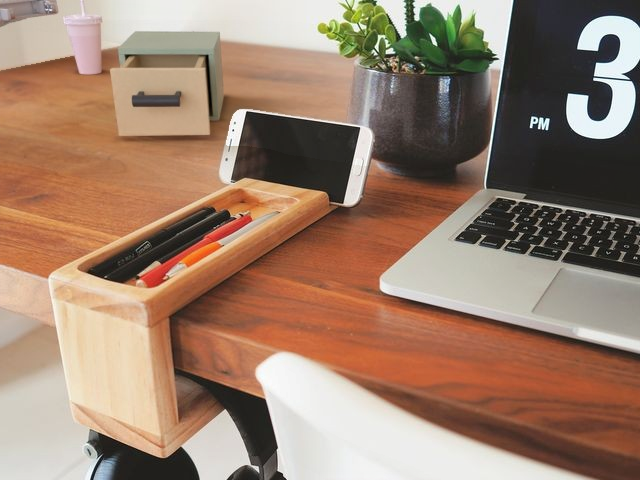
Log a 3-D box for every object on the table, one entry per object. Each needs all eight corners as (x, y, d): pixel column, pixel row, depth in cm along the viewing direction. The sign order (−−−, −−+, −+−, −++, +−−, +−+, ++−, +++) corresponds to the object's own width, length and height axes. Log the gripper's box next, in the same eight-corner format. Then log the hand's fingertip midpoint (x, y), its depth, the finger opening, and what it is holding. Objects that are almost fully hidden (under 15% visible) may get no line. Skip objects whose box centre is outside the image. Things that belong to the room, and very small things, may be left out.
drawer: (207, 145, 89) (202, 77, 85) (112, 146, 88) (102, 77, 84) (216, 108, 105) (211, 50, 101) (135, 109, 104) (128, 49, 100)
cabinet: (219, 122, 102) (213, 48, 97) (127, 123, 100) (117, 48, 96) (224, 97, 115) (219, 31, 110) (142, 98, 113) (134, 31, 109)
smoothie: (87, 78, 124) (74, -8, 118) (63, 73, 127) (49, -11, 121) (117, 73, 129) (106, -11, 123) (93, 68, 132) (82, -14, 126)
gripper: (-76, -8, 124) (-22, -2, 119) (23, -17, 141) (74, -12, 135) (-67, 30, 127) (-14, 38, 122) (29, 17, 144) (80, 23, 138)
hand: (33, 11), depth 129 cm, fingers open, 8 cm apart
